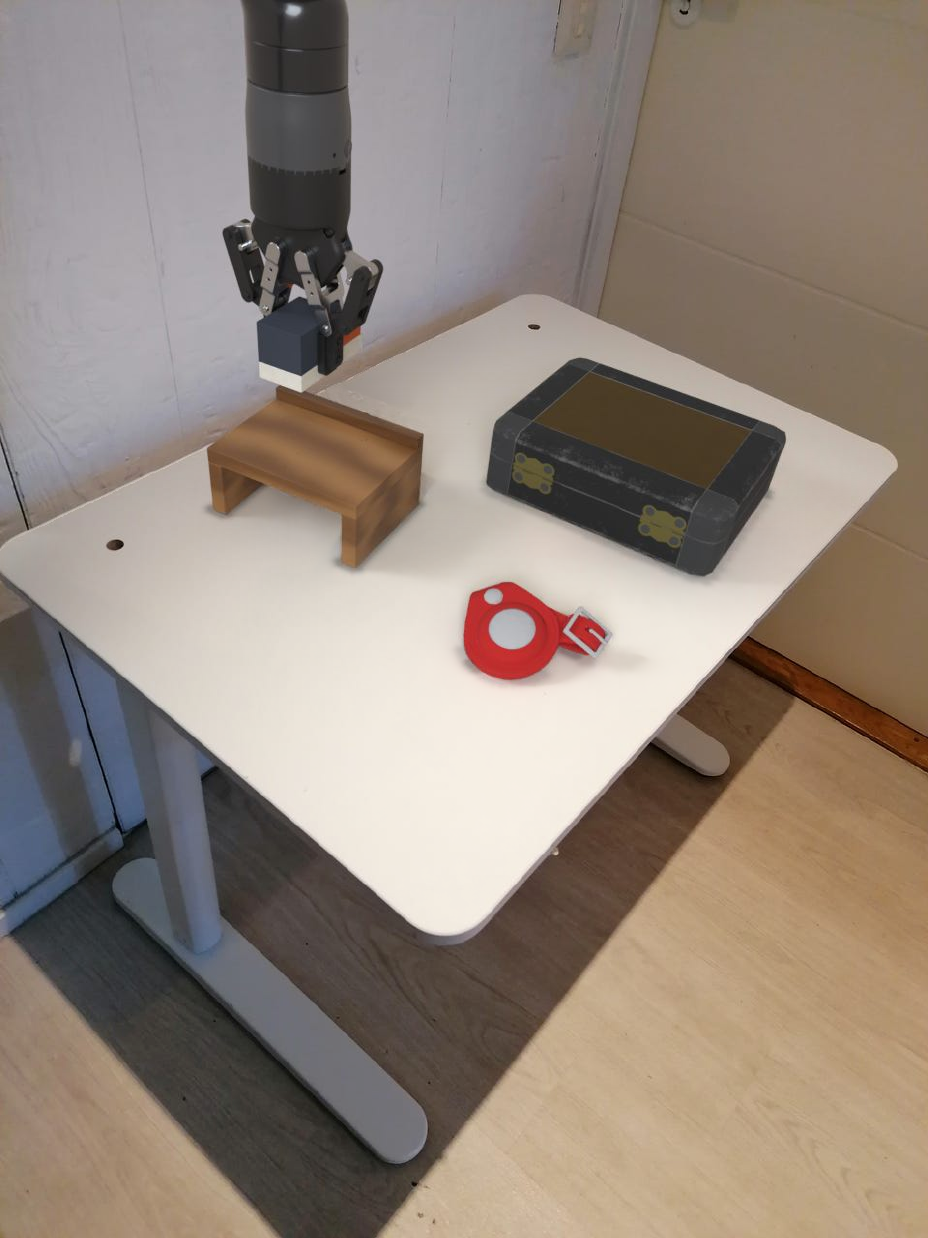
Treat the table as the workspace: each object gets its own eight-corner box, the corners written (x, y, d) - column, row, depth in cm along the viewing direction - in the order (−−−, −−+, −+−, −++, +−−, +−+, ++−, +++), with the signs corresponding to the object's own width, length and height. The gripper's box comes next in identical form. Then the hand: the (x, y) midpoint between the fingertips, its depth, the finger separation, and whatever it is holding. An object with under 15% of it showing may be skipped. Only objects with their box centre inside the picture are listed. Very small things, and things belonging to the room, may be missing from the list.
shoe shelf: (355, 568, 89) (356, 495, 83) (212, 509, 93) (205, 436, 88) (419, 504, 97) (424, 433, 91) (285, 453, 101) (282, 382, 96)
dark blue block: (301, 393, 80) (300, 336, 76) (259, 377, 81) (256, 321, 78) (362, 348, 86) (363, 295, 83) (322, 335, 87) (322, 281, 84)
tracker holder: (485, 688, 77) (441, 589, 82) (486, 710, 81) (444, 615, 86) (623, 637, 79) (572, 543, 84) (617, 661, 83) (569, 570, 88)
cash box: (772, 487, 105) (794, 425, 100) (706, 585, 91) (728, 519, 86) (567, 409, 113) (578, 348, 108) (478, 488, 100) (487, 423, 94)
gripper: (187, 138, 70) (208, 355, 82) (355, 186, 66) (352, 407, 78) (250, 115, 75) (261, 322, 87) (409, 158, 71) (399, 370, 83)
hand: (304, 361), depth 82 cm, fingers closed on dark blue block, 4 cm apart
